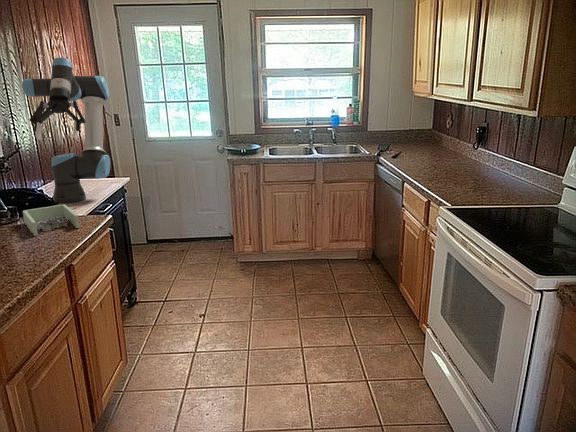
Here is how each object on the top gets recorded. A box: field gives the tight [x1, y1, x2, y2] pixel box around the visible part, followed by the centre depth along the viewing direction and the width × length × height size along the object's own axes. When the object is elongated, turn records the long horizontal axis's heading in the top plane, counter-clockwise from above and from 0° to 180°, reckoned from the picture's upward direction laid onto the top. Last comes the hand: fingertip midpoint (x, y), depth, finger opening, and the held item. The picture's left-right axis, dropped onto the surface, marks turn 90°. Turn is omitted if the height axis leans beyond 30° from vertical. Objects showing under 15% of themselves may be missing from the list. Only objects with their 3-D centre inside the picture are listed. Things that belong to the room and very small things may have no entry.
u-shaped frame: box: [22, 203, 81, 237], centre depth 185 cm, size 23×16×6 cm
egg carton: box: [36, 216, 69, 232], centre depth 183 cm, size 11×8×4 cm
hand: (56, 138), depth 176 cm, fingers open, 13 cm apart
